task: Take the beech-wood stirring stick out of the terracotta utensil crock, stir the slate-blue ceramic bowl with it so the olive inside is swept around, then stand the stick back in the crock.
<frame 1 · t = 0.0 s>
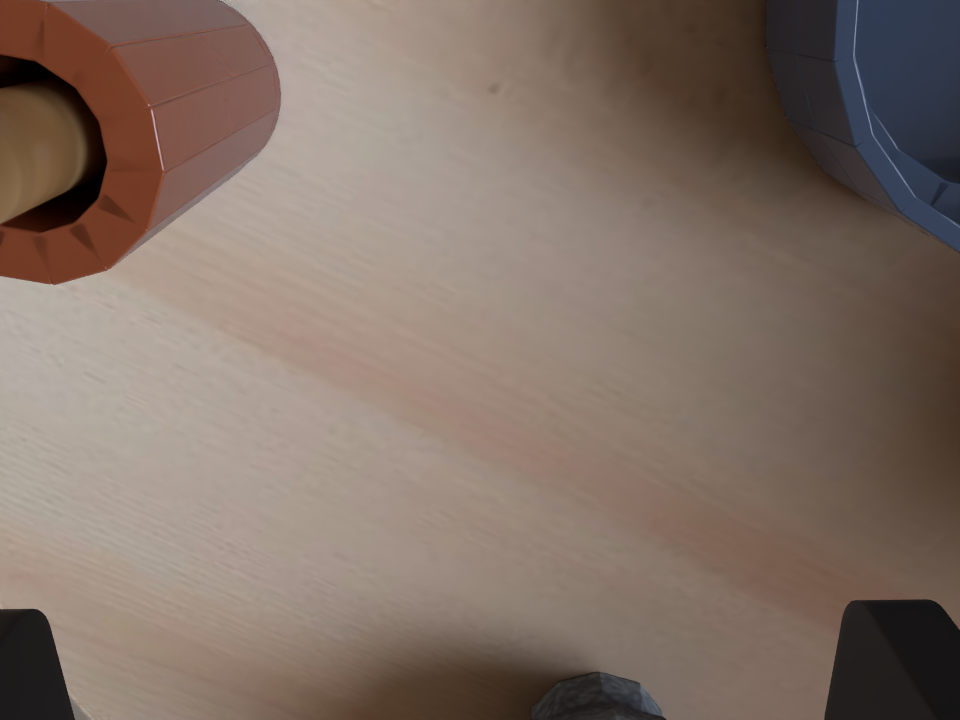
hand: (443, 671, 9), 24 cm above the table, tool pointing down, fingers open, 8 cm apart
stick: (184, 90, 29), point 1 cm above the table, touching crock
crock: (192, 87, 29), on the table
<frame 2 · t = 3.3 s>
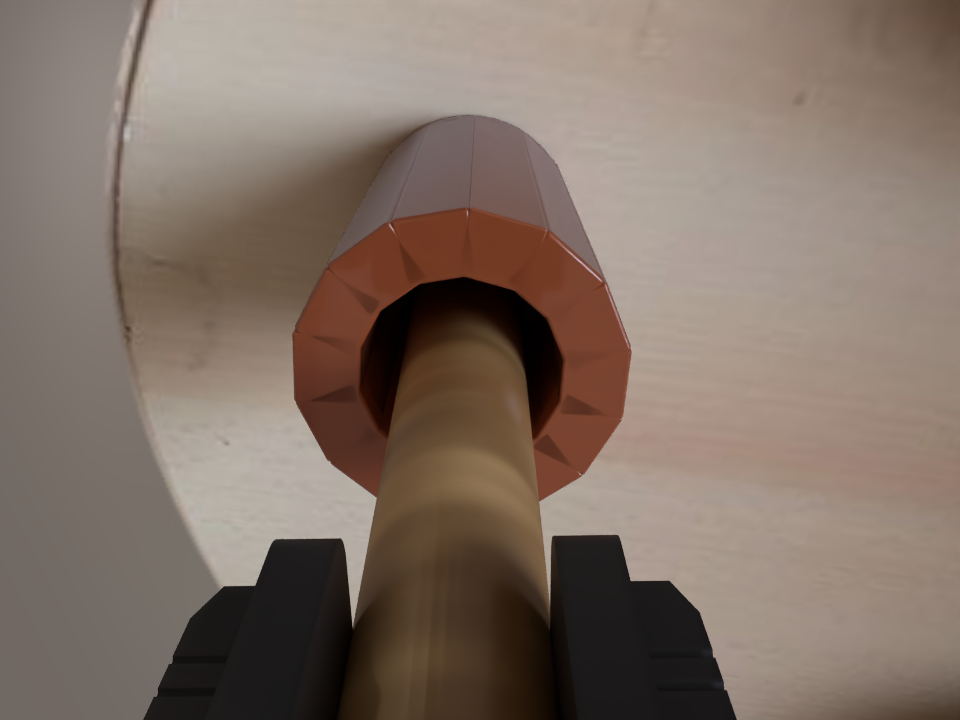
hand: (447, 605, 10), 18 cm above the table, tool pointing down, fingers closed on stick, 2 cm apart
stick: (469, 222, 26), point 1 cm above the table, touching crock, gripper
crock: (469, 215, 27), on the table
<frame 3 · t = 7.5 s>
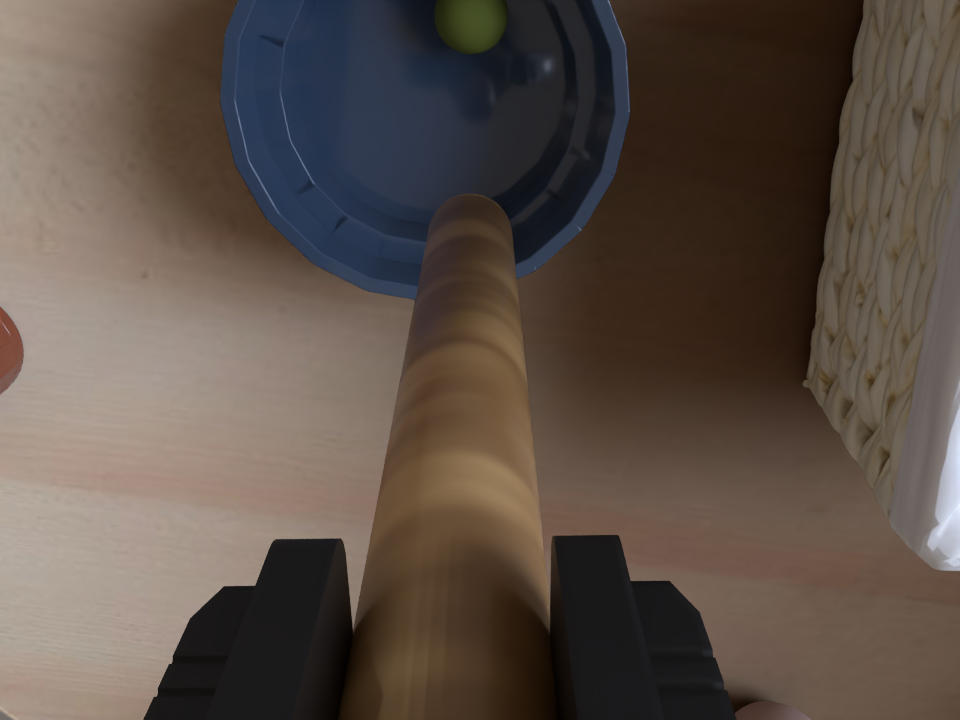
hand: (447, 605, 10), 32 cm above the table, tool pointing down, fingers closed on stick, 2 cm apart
stick: (470, 224, 26), point 15 cm above the table, touching gripper
olive: (471, 15, 35), point 2 cm above the table, touching bowl
bowl: (434, 88, 39), on the table
egg: (755, 712, 53), on the table
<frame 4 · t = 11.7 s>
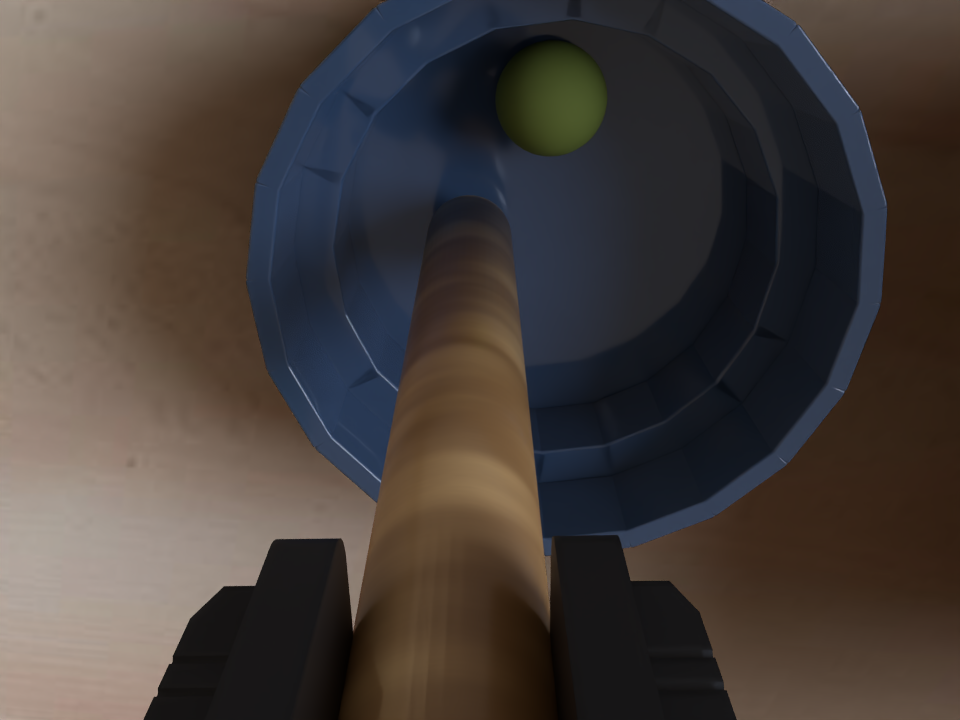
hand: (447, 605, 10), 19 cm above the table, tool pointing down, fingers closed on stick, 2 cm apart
stick: (469, 225, 26), point 1 cm above the table, touching gripper
olive: (551, 99, 23), point 2 cm above the table, tilted 40°, touching bowl
bowl: (546, 224, 27), on the table
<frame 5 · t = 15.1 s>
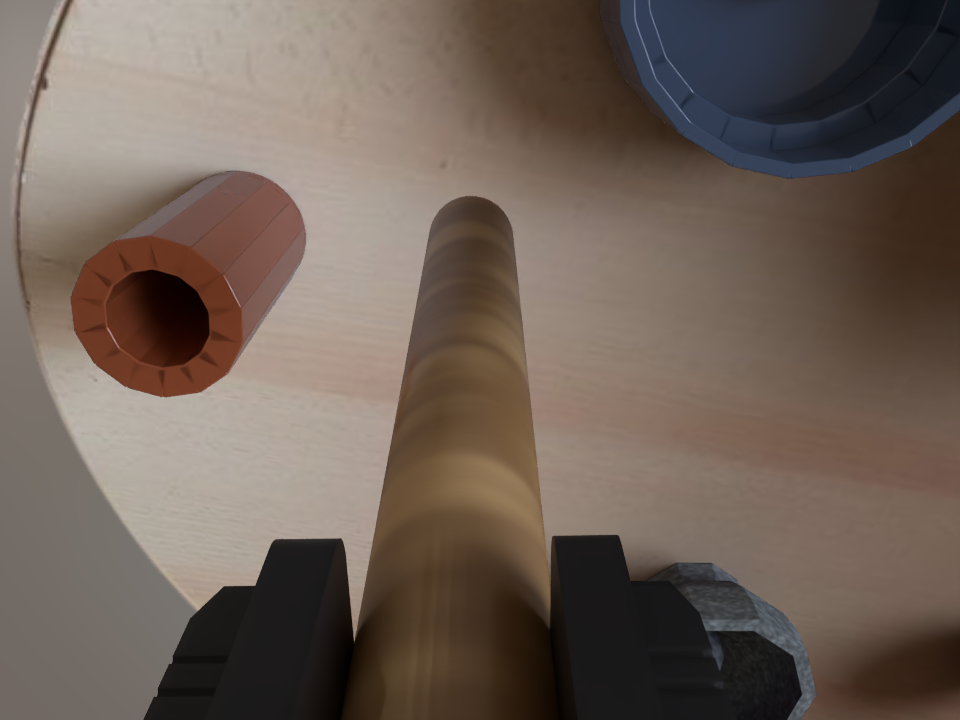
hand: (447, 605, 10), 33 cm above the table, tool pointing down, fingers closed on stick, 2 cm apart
mortar and pestle: (678, 609, 51), on the table
stick: (471, 226, 26), point 15 cm above the table, touching gripper
crock: (243, 233, 42), on the table
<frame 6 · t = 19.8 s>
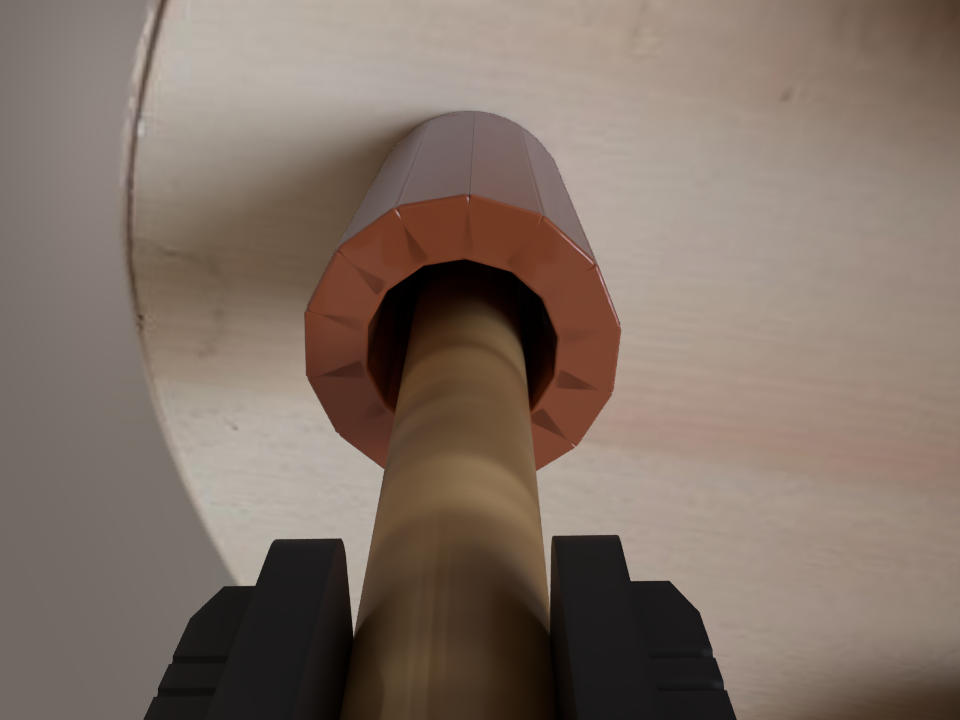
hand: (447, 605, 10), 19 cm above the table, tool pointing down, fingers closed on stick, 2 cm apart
stick: (470, 227, 26), point 2 cm above the table, touching gripper
crock: (470, 207, 28), on the table
when the fingers open (18 cm above the table, at t = 20.3 s): stick stays where it is, resting on crock.
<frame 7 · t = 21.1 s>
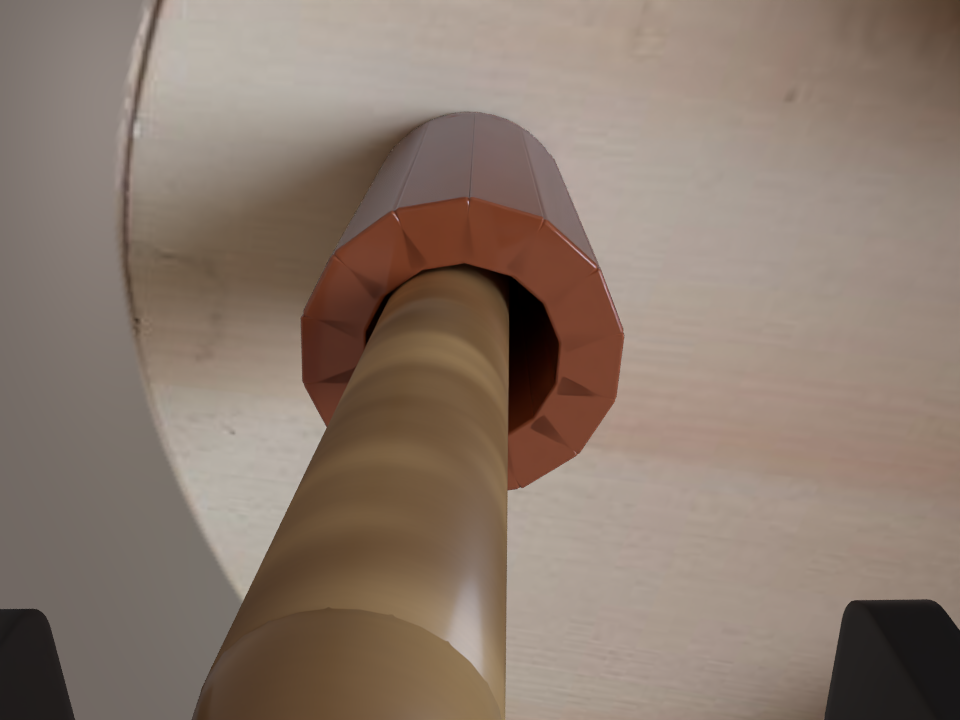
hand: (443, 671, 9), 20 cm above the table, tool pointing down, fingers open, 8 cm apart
stick: (470, 218, 27), point 1 cm above the table, touching crock
crock: (470, 210, 27), on the table
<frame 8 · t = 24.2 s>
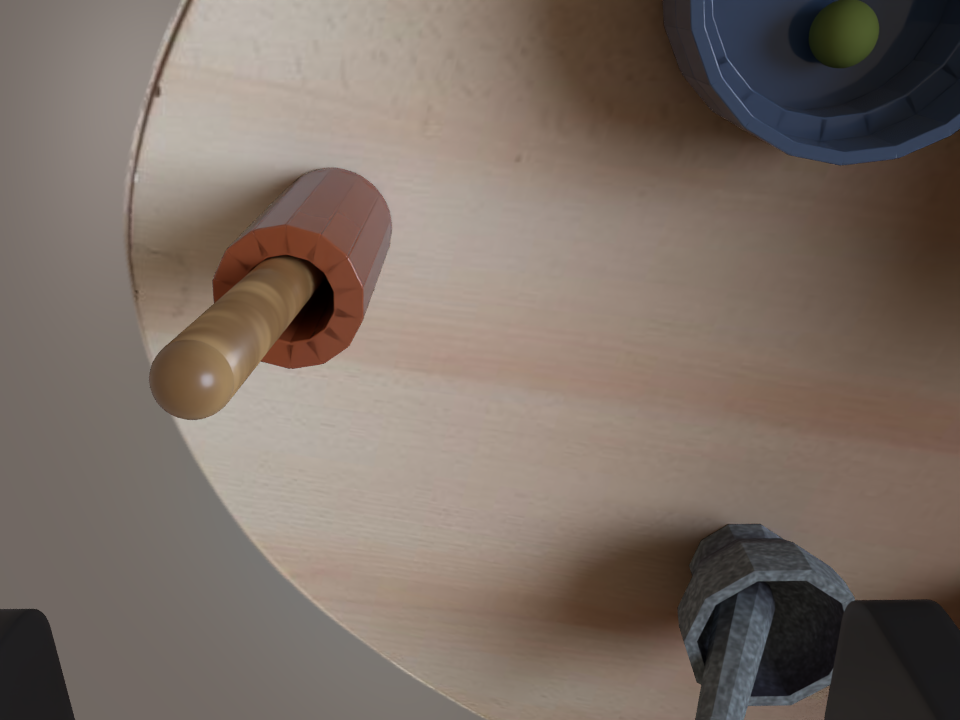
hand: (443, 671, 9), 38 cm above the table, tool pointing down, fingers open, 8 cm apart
mortar and pestle: (729, 568, 55), on the table
stick: (333, 230, 45), point 1 cm above the table, touching crock
olive: (843, 34, 40), point 2 cm above the table, tilted 115°, touching bowl
crock: (335, 224, 46), on the table
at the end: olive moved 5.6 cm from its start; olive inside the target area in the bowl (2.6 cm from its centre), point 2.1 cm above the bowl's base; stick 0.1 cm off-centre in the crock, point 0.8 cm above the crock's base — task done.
